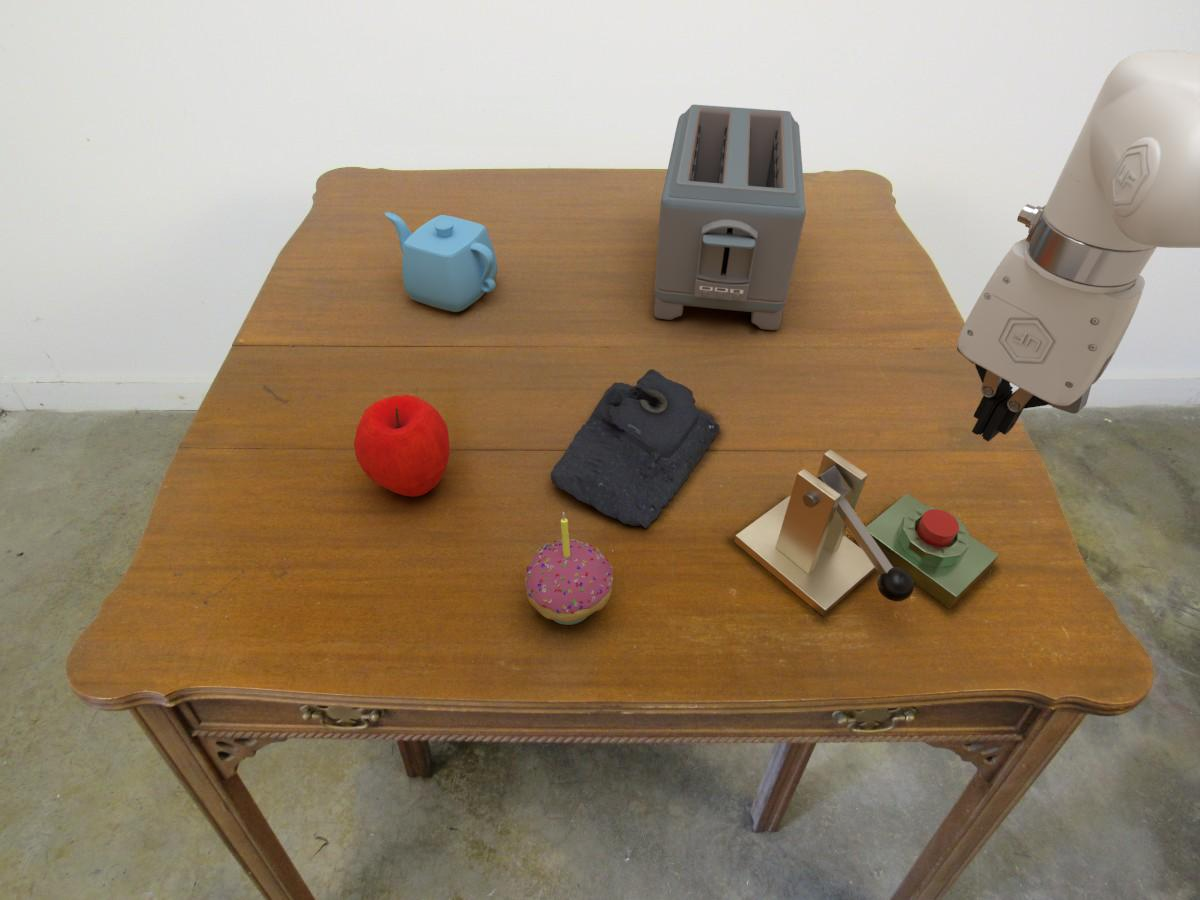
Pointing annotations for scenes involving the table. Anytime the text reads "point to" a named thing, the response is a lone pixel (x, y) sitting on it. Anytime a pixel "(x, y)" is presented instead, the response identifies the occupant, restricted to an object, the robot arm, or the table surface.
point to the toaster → (730, 213)
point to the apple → (403, 444)
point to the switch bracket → (811, 538)
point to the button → (937, 528)
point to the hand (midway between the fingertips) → (988, 429)
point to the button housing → (930, 552)
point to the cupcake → (568, 579)
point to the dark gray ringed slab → (636, 449)
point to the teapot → (446, 261)
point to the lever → (869, 542)
